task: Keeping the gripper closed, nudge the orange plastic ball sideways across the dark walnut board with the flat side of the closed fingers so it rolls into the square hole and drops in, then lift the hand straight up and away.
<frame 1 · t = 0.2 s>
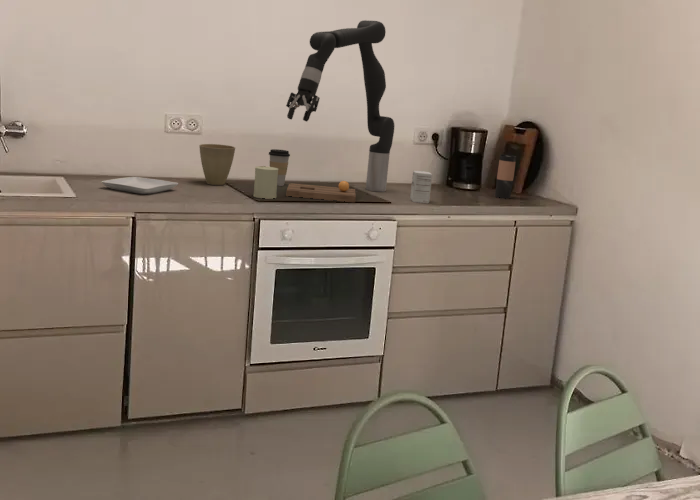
hand: (297, 119, 311), 31 cm above the countertop, tool tilted 20°, fingers open, 8 cm apart
deck: (321, 195, 332), on the countertop
coffee cup: (277, 185, 351), on the countertop
plant pot: (215, 184, 336), on the countertop
salad plate: (140, 190, 305), on the countertop
ball: (343, 186, 331), point 5 cm above the countertop, touching deck
supplement box: (419, 201, 342), on the countertop
travel mug: (502, 198, 377), on the countertop
can: (264, 197, 315), on the countertop
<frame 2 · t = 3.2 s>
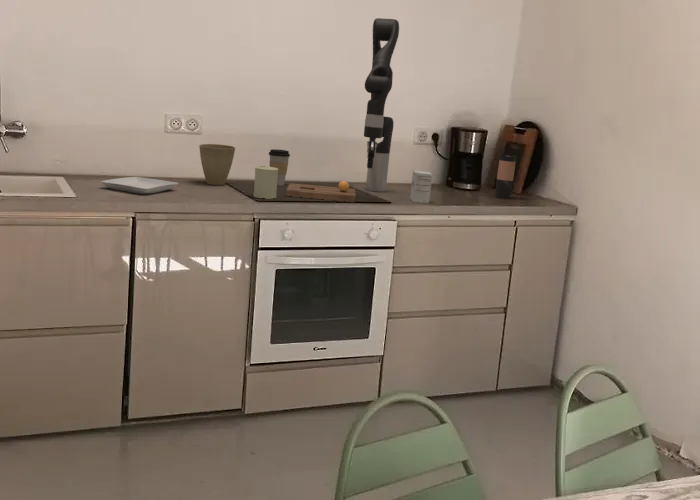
hand: (369, 167, 329), 13 cm above the countertop, tool pointing down, fingers closed
nothing on the countertop moved.
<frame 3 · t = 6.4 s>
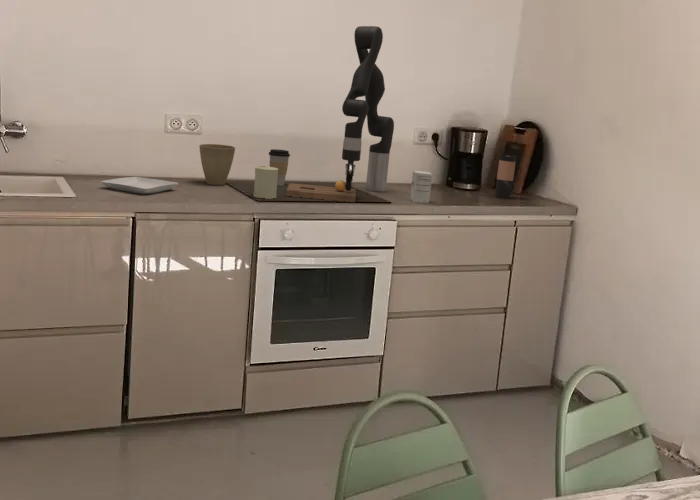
hand: (348, 190, 331), 3 cm above the countertop, tool pointing down, fingers closed
ball: (340, 186, 331), point 5 cm above the countertop, tilted 29°, touching deck, gripper
everything else where it was.
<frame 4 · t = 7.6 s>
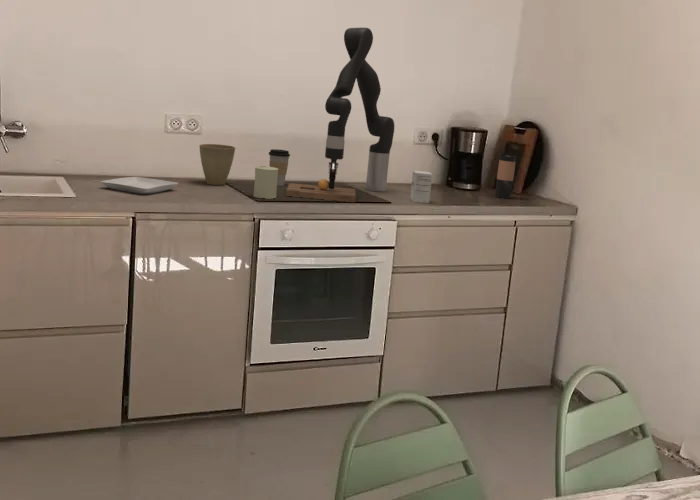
hand: (331, 188, 331), 3 cm above the countertop, tool pointing down, fingers closed
ball: (323, 184, 331), point 5 cm above the countertop, tilted 172°, touching deck, gripper
everything else where it was.
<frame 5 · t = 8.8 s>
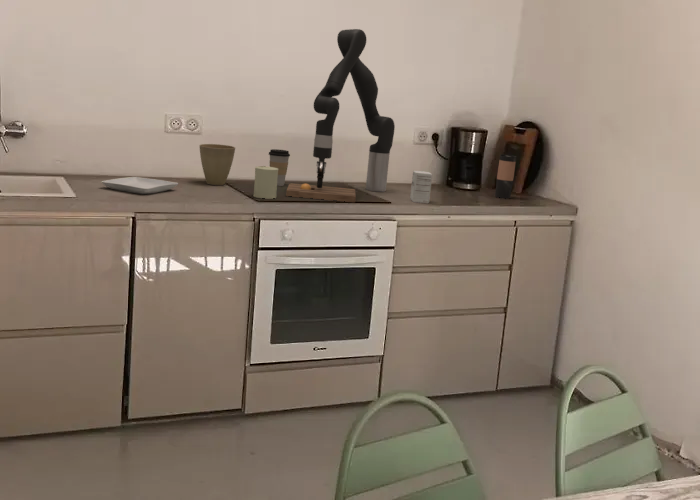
hand: (319, 187, 331), 3 cm above the countertop, tool pointing down, fingers closed
ball: (305, 188, 331), point 2 cm above the countertop
everything else where it was.
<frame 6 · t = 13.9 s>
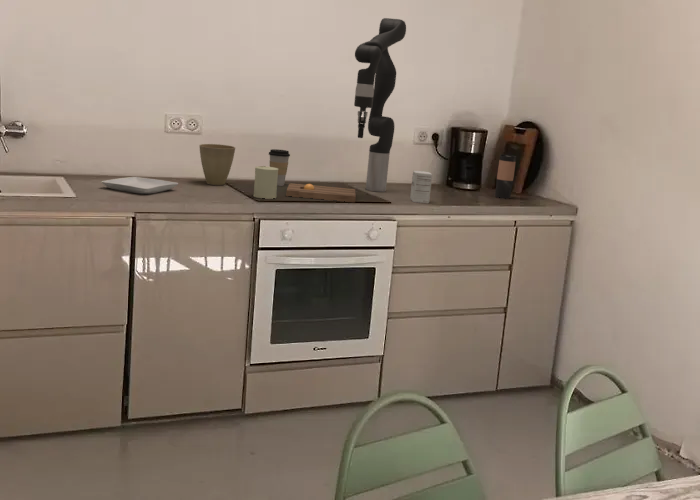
hand: (360, 137, 331), 25 cm above the countertop, tool pointing down, fingers closed
ball: (309, 189, 331), point 2 cm above the countertop, tilted 38°
everything else where it was.
at the end: ball 0.7 cm from the target spot on the deck, point 2.2 cm above the deck's base; ball moved 14.5 cm from its start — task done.
